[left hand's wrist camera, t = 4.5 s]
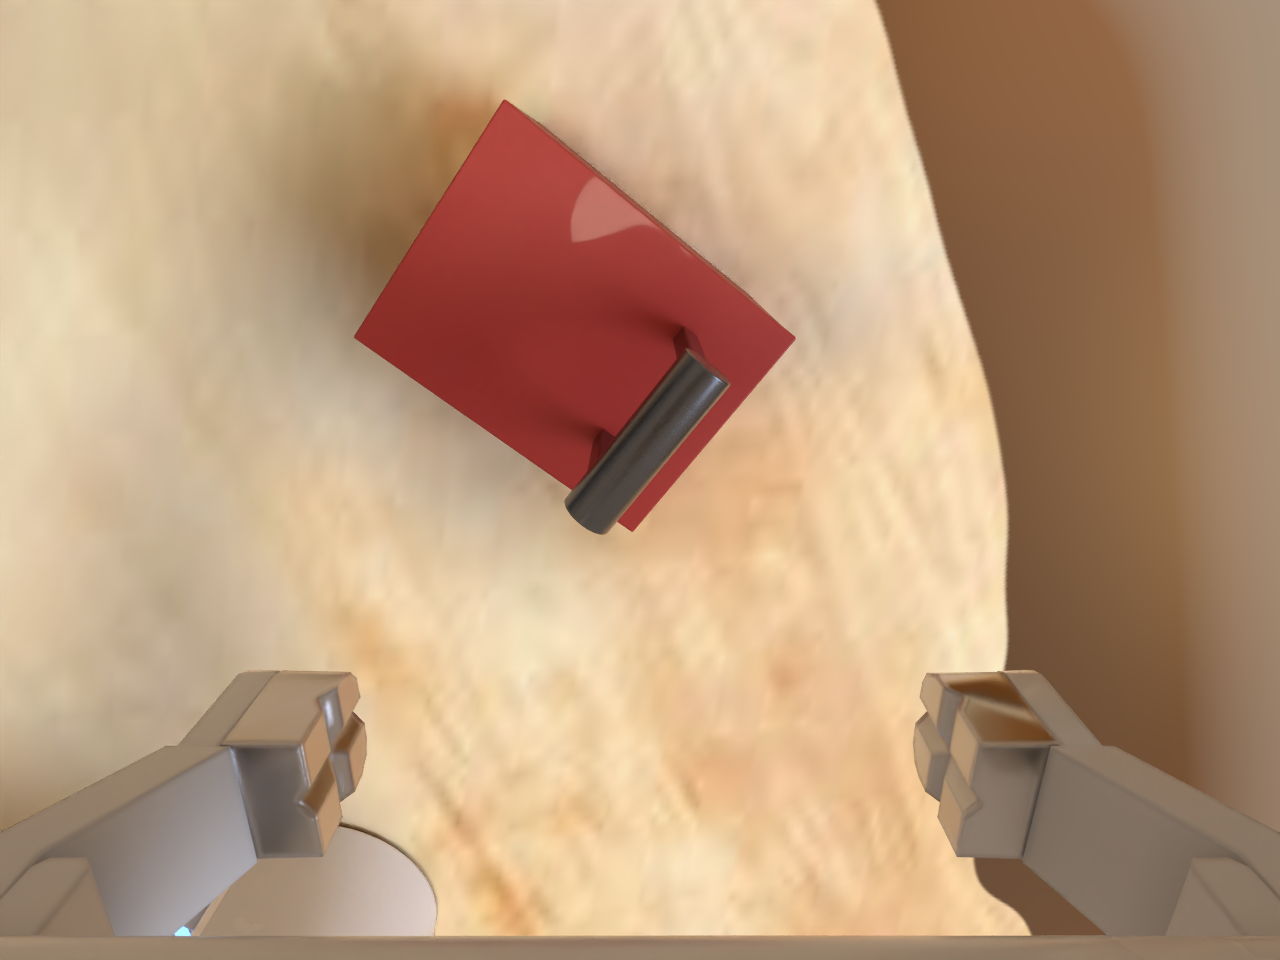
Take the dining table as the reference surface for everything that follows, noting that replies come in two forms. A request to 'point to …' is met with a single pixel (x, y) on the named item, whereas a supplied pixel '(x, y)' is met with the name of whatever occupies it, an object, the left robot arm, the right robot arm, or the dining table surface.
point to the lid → (570, 325)
